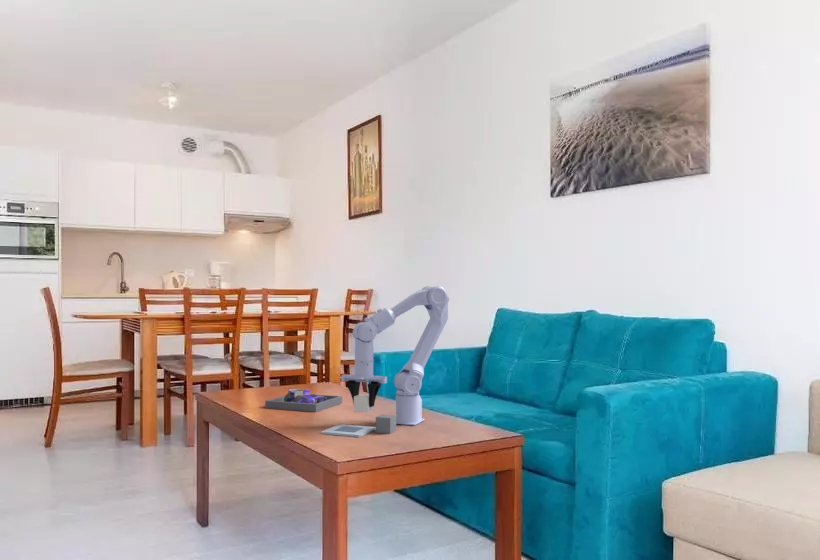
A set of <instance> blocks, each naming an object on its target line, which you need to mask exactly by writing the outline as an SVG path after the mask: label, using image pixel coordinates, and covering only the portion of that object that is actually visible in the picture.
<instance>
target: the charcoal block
mask: <svg viewBox="0 0 820 560" xmlns="http://www.w3.org/2000/svg"><path fill="white" fill-rule="evenodd" d="M375 427H376V430H375V433H376V434H386V435H388V434H389V435H391V434H393V433H395V432H397V424H396V414H380V415H377V416H375Z"/></svg>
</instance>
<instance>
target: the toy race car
mask: <svg viewBox="0 0 820 560" xmlns="http://www.w3.org/2000/svg"><path fill="white" fill-rule="evenodd" d="M287 391H288V392H287V393H286V394H285V395H284V396H285V398H284V402H295V403H308V404H316V403H320V402H323V401H326V400H327V398H326V397H324V396H318V395H319V394H317V395H316V393H311V392H310V391H311V390H310V388H305V389H300V390H299V389H298V388H288V389H287ZM310 394H312V395H310Z"/></svg>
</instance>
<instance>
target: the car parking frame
mask: <svg viewBox="0 0 820 560" xmlns="http://www.w3.org/2000/svg"><path fill="white" fill-rule="evenodd" d="M312 394H313V393H310V395H312ZM315 394H316V393H315ZM316 395H318V396H324V397H326V398H327V400H326V401H323V402H320V403H316V404H308V403H295V402H284V398H285V395H282V396H278V397H274V398H270V399H267V400H265V405H264V408H265V409H275V410H286V411H287V410H289V411H298V412H311V413H317V412H320V411H323V410H326V409H328V408H332V407H334V406H337V405H338V406H339V405H340V404H343V396H342V395H330V394H329V395H327V394H316Z"/></svg>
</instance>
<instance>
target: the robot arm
mask: <svg viewBox="0 0 820 560" xmlns="http://www.w3.org/2000/svg"><path fill="white" fill-rule="evenodd" d="M449 301H450V298H449V295H448V293H447V291H446V289H445V288H444V287H442V286H441V285H440V286H439V285H435V286H429V285H428V286H427V285H426V286H424V287H423V288H421V289H418V290H416V291H415V292H413V293H412V294H410V295H409V296H408V297H406V298H404V299H403V300H401V301H399V303H397V304H395V305H394V306H393V307H391V308H390V309H389V308H387V307H386V308H378V309H377V310H376V313H374V314H373V315H371V316H369V317H365V318H364V319H363V320H364V322H363V321H362V322H358V323H357V324H356V325H354V327H353V330H352V336H353V337H354V340H355V341H354V343H355V345H354V374H345V373H344V374H341V376H340V377H341V382H347V383H346V387H347V388H348V391H349V393H350V395H351V398H352V403H353V404H354V396H357V395H360V387H361V383H367V388H368V395H369V407H373V406H374V407H375V404H376V403H375V401H376V398H377V395H378V394H379V393H378V392H379V390H380V389H381V386H382V384H388V376H386V375H385V376H381V375H374V339H375V338H376V337H377V335H379V334H380V333H382V332H383V331H385V330H387V329H388V328H390V327H392V326H393V325H394V324H395V321H396V318H398V317H399V316H402V315H404V314H405V313H407V312H408V311H410V310H412V309H413V308H415V307H417V306H424V307H425V308H426V311H427V313H428V316H429V320H428V322H427V324H426V326H425V327H424V329H423V332H422V334H421V335H420V338H419V340H418V342H417V343H416V346H415V347H414V350H413V351H412V354H411V356H410V357H409V360H408V361H407V362H406V363H405V364H404V365H403V366H402V368H401V370H400V371H399V372H397V373H396V374H395V376H394V379H393V385H394V387H395V388H396V389H397V390H396V392H395V415H396V425H405V426H406V425H408V426H416V425H418V424H421V423H422V422H424V421H425V418H423V414H422V413H423V400H422V397H421V396H420V390H421V389H422V384H423V382H422V381H423V378H424V376H425V372H424V371H425V369H424V368H425V367H426V364H427V362H428V361H429V359H430V356H431V354H432V352H433V350H434V348H435V346H436V344H437V342H438V340H439V338H440V336H441V334H442V332H443V330H444V327H445V325H446V324H447V322H448V320H449Z"/></svg>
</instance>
